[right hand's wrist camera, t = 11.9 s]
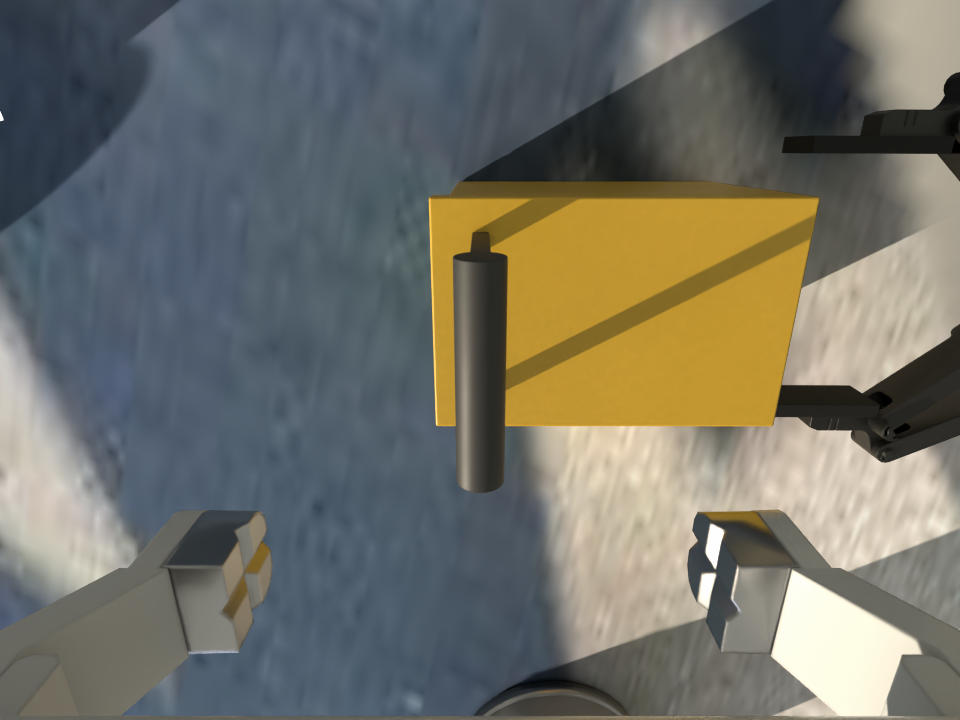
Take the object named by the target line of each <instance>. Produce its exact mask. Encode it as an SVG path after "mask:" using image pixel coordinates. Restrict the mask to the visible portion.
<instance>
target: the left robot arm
mask: <svg viewBox="0 0 960 720" xmlns="http://www.w3.org/2000/svg"><path fill="white" fill-rule="evenodd" d="M944 94H945V96H944V98H943V100H942V101H941V102H940V104H939V105H938V106H937V107H935V108H934V109H932V110H887V111H876V112H874V113H871V114H868V115H866V116H865V117H864V121H863V126H862V130H861V135H860V136H797V137H785V138H784V144H783V149H782V153H884V154H938V156H939V157H940V158H941V159H942V160H943V162H944V163H945V164H946V165H947V166H948V168H949V169H950V170H951V171H952V172H953V174H954V175H955V176H956V177H957V178H958V180H959V181H960V72H959V73H955V74H953V75H951V76H950V77H949V78H948V79H947V81H946V83H945V85H944ZM881 409H882V410H881ZM775 417H798V418H799V419H801V420H802V421H803V422H804V423H805V424H806V425H808V426H809V427H811V428H813V429H816V430H852V432H851V438H852V440H853V441H854V442H856V443H857V444H858V445H860V446H861V447H862V448H863V449H865V450H866V451H867V452H869V453H870V454H871V455H872V456H874V457H875V458H876V459H878V460H879V461H881V462H885V463H886V462H890V461H893V460H896V459H898V458H901V457H904V456H906V455H909V454H911V453H914V452H917V451H919V450H922V449H924V448H927V447H930V446H932V445H935V444H938V443H940V442H943V441H945V440H948V439H951V438H953V437H956V436H959V435H960V324H959V325H958V326H956V327H955V328H953V329H952V331H951V337H950V338H948V339H947V340H945V341H944V342H942V343H941V344H939V345H937V346H936V347H934V348H933V349H931V350H930V351H928V352H926V353H925V354H923V355H922V356H920V357H919V358H917V359H916V360H914V361H912V362H911V363H909V364H908V365H906V366H905V367H903V368H901V369H900V370H898V371H897V372H895V373H894V374H892V375H890V376H889V377H887V378H886V379H884V380H883V381H881V382H880V383H878V384H876V385H875V386H873V387H872V388H870V389H869V390H867V391H865V392H864V393H861V392H859V391H857V390H856V389H854V388H853V387H851V386H841V385H781V390H780V395H779V399H778V404H777V409H776V414H775ZM474 716H628V714H627V713H626V711H625V710H624V709H623V708H622V707H621V706H620V705H619V704H618V703H617V702H616V701H615V700H614V699H612V698H611V697H609V696H608V695H606V694H604V693H602V692H600V691H598V690H596V689H593V688H591V687H588V686H584V685H581V684H576V683H571V682H560V681H547V682H536V683H530V684H526V685H522V686H518V687H515V688H512V689H510V690H507V691H505V692H503V693H501V694H499V695H497V696H496V697H494V698H493V699H491V700H490V701H488V702H487V703H486V704H484V705H483V706H482V707H481V708H480V709H479V710H478V712H477V713H476V714H475V715H474Z"/></svg>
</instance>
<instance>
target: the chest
mask: <svg viewBox="0 0 960 720" xmlns="http://www.w3.org/2000/svg"><path fill="white" fill-rule="evenodd" d="M450 195H801V194H794V193H787V192H780V191H773V190H766V189H759V188H751V187H744V186H737V185H730V184H723V183H716V182H709V181H573V182H459V183H458V184H457V185H456V187H455V188H454V190H453V191H452V193H451V194H450Z"/></svg>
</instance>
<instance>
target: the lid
mask: <svg viewBox="0 0 960 720" xmlns="http://www.w3.org/2000/svg"><path fill="white" fill-rule="evenodd" d="M819 200H820V199H819V197H815V196H808V195H432V196H431V197H430V198H429V217H430V249H431V281H432V313H433V345H434V377H435V409H436V425H437V426H456V474H457V483H458V485H459V486H460V487H461V488H463V489H465V490H467V491H470V492H474V493H487V492H491V491H494V490H496V489H498V488H499V487H501V486H502V484H503V482H504V460H505V426H773V424H774V419H775V414H776V409H777V404H778V399H779V395H780V390H781V385H782V380H783V375H784V370H785V365H786V360H787V356H788V351H789V346H790V341H791V336H792V331H793V326H794V321H795V317H796V312H797V307H798V302H799V297H800V292H801V287H802V282H803V278H804V273H805V268H806V263H807V258H808V253H809V248H810V243H811V239H812V234H813V229H814V224H815V219H816V214H817V209H818V204H819Z"/></svg>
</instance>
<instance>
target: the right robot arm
mask: <svg viewBox="0 0 960 720" xmlns="http://www.w3.org/2000/svg"><path fill="white" fill-rule="evenodd" d="M1 120H3V118H2V115H1V113H0V121H1ZM267 531H268V530H267V525H266V520H265V515H264V514H262V513H261V512H260V511H222V510H208V511H206V510H181V511H179V512H176V513H175V514H174V515H173V516H172V517H171V518H170V519H169V521H168V522H167V523H166V524H165V525H164V526H163V528H162V529H161V530H160V531H159V532H158V533H157V535H156V536H155V537H154V538H153V539H152V541H151V542H150V543H149V544H148V545H147V546H146V548H145V549H144V550H143V551H142V552H141V553H140V555H139V556H138V557H137V558H136V559H135V561H134V562H133V563H132V564H131V565H130V566H129V568H119V569H117V570H115V571H113V572H111V573H109V574H107V575H105V576H104V577H102V578H100V579H98V580H96V581H94V582H92V583H90V584H88V585H86V586H84V587H83V588H81V589H79V590H77V591H75V592H73V593H71V594H69V595H67V596H65V597H63V598H62V599H60V600H58V601H56V602H54V603H52V604H50V605H48V606H46V607H44V608H42V609H41V610H39V611H37V612H35V613H33V614H31V615H29V616H27V617H25V618H23V619H21V620H19V621H18V622H16V623H14V624H12V625H10V626H8V627H6V628H4V629H2V630H0V720H960V631H959V630H957V629H955V628H954V627H952V626H950V625H948V624H946V623H944V622H942V621H940V620H938V619H936V618H935V617H933V616H931V615H929V614H927V613H925V612H923V611H921V610H919V609H917V608H915V607H914V606H912V605H910V604H908V603H906V602H904V601H902V600H900V599H898V598H896V597H895V596H893V595H891V594H889V593H887V592H885V591H883V590H881V589H879V588H877V587H875V586H874V585H872V584H870V583H868V582H866V581H864V580H862V579H860V578H858V577H856V576H855V575H853V574H851V573H849V572H847V571H845V570H843V569H841V568H831V566H830V565H829V564H828V563H827V562H826V561H825V559H824V558H823V557H822V556H821V555H820V554H819V552H818V551H817V550H816V549H815V548H814V546H813V545H812V544H811V543H810V542H809V541H808V539H807V538H806V537H805V536H804V535H803V534H802V532H801V531H800V530H799V529H798V528H797V526H796V525H795V524H794V523H793V522H792V521H791V519H790V518H789V517H788V516H787V515H786V514H785V513H784V512H782V511H780V510H755V511H739V512H698V513H697V515H696V517H695V519H694V524H693V532H694V534H695V536H696V538H697V540H698V542H697V543H696V544H695V545H694V546H693V547H692V548H691V549H690V550H689V556H688V564H687V566H688V577H689V583H690V586H691V590H692V593H693V595H694V597H695V599H696V601H697V603H699V604H700V605H701V606H703V607H704V608H705V609H707V610H708V614H707V620H706V622H707V624H708V626H709V628H710V630H711V632H712V635H713V637H714V639H715V641H716V643H717V645H718V647H719V649H720V651H721V652H722V653H757V654H771V657H772V658H773V659H775V660H776V661H777V662H778V663H779V664H780V665H782V666H783V667H784V668H785V669H786V670H787V671H789V672H790V673H791V674H792V675H793V676H794V677H795V678H797V679H798V680H799V681H800V682H801V683H802V684H804V685H805V686H806V687H807V688H808V689H809V690H810V691H812V692H813V693H814V694H815V695H816V696H817V697H819V698H820V699H821V700H822V701H823V702H824V703H826V704H827V705H828V706H829V707H830V708H831V709H832V710H834V711H835V712H836V713H837V714H838V715H839V716H121V715H122V714H123V713H124V712H125V711H127V710H128V709H129V708H130V707H131V706H132V705H134V704H135V703H136V702H137V701H138V700H139V699H140V698H142V697H143V696H144V695H145V694H146V693H147V692H149V691H150V690H151V689H152V688H153V687H154V686H156V685H157V684H158V683H159V682H160V681H161V680H162V679H164V678H165V677H166V676H167V675H168V674H169V673H171V672H172V671H173V670H174V669H175V668H176V667H178V666H179V665H180V664H181V663H182V662H183V661H184V660H186V659H187V658H188V657H189V654H203V653H237V652H239V651H240V649H241V647H242V645H243V643H244V641H245V639H246V637H247V635H248V633H249V630H250V628H251V626H252V624H253V622H254V620H253V614H252V610H253V609H255V608H256V607H257V606H259V605H260V604H261V603H263V601H264V599H265V597H266V595H267V592H268V590H269V586H270V582H271V577H272V555H271V550H270V549H269V548H268V547H267V546H266V545H265V544H264V543H263V542H262V540H263V538H264V536H265V534H266V532H267Z"/></svg>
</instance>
